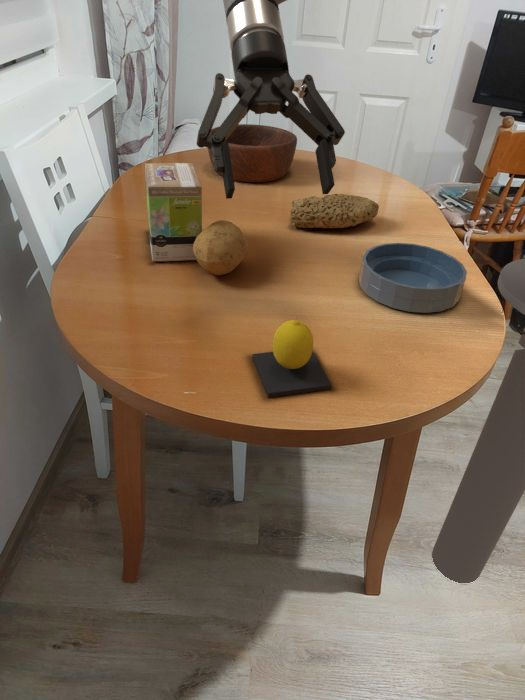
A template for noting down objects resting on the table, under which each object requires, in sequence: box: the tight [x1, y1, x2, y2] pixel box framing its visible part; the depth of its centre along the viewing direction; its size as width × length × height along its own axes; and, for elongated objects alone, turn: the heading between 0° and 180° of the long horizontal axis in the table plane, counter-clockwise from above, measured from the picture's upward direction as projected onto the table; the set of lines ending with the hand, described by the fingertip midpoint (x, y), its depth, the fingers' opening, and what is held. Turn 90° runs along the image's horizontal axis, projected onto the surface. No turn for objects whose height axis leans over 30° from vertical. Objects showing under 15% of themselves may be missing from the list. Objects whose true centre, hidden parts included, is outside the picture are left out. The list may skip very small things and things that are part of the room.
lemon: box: [272, 319, 314, 369], centre depth 71 cm, size 6×6×8 cm
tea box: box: [144, 162, 203, 262], centre depth 102 cm, size 15×10×15 cm, turn 12°
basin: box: [358, 242, 468, 314], centre depth 94 cm, size 18×18×5 cm
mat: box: [251, 351, 333, 399], centre depth 73 cm, size 9×9×1 cm
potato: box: [193, 219, 248, 276], centre depth 96 cm, size 10×14×8 cm
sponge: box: [289, 193, 380, 229], centre depth 117 cm, size 13×8×20 cm
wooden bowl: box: [207, 123, 298, 183], centre depth 145 cm, size 25×25×10 cm
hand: (280, 192), depth 69 cm, fingers open, 13 cm apart
